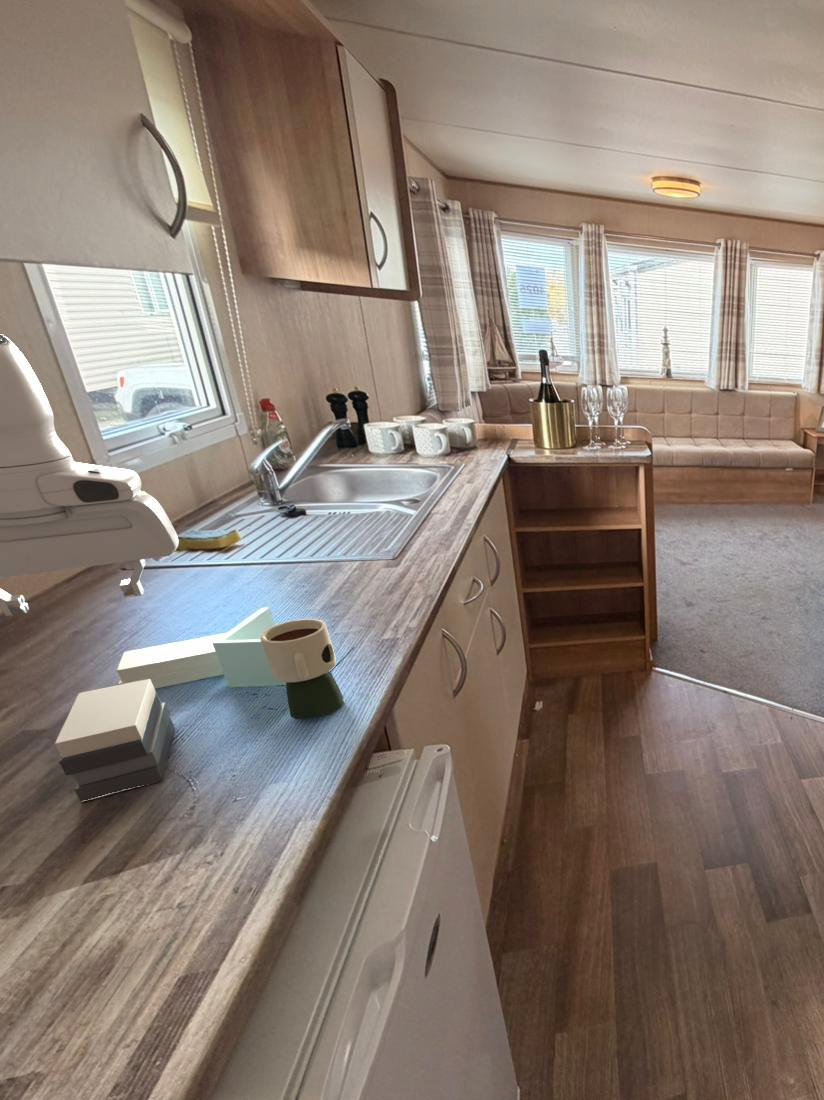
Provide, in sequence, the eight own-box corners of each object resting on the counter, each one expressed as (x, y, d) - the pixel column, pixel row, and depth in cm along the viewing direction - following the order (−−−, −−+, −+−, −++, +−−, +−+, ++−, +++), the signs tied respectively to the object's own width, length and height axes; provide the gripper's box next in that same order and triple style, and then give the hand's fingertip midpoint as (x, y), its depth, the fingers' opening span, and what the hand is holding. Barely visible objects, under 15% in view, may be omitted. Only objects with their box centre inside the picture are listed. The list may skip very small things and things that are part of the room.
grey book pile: (163, 781, 76) (144, 740, 74) (81, 804, 72) (58, 761, 70) (175, 727, 85) (159, 689, 83) (103, 744, 81) (83, 705, 79)
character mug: (352, 722, 88) (328, 639, 83) (288, 739, 84) (258, 653, 79) (345, 686, 96) (323, 609, 91) (286, 700, 92) (260, 620, 87)
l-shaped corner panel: (318, 684, 96) (305, 640, 93) (229, 687, 94) (212, 643, 91) (355, 645, 107) (344, 605, 104) (275, 648, 105) (262, 607, 102)
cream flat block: (142, 739, 74) (135, 725, 73) (62, 758, 70) (54, 743, 69) (155, 691, 82) (150, 678, 82) (85, 706, 79) (78, 692, 78)
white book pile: (123, 695, 91) (112, 671, 89) (130, 675, 96) (120, 652, 94) (235, 672, 98) (226, 649, 96) (237, 654, 103) (229, 632, 101)
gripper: (-151, 507, 60) (-73, 636, 66) (147, 482, 71) (191, 594, 77) (-121, 491, 64) (-50, 614, 70) (155, 470, 76) (196, 577, 81)
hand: (78, 603), depth 74 cm, fingers open, 8 cm apart
